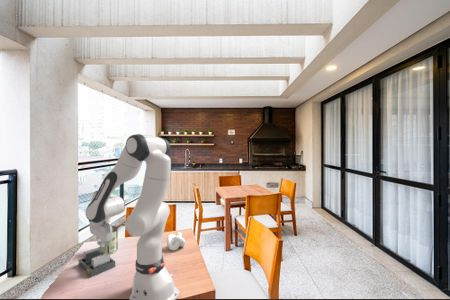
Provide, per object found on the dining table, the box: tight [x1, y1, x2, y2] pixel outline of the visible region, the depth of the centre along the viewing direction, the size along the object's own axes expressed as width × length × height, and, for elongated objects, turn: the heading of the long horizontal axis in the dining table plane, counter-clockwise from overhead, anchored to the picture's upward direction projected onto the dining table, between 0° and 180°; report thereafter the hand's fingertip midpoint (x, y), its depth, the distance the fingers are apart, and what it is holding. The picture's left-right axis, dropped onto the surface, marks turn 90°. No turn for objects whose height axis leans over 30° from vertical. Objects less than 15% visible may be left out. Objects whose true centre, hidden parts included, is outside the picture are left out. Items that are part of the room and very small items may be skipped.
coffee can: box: [99, 225, 119, 255], centre depth 132 cm, size 10×10×14 cm
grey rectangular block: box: [92, 253, 111, 270], centre depth 112 cm, size 3×8×6 cm, turn 142°
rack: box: [78, 246, 116, 278], centre depth 115 cm, size 18×12×7 cm
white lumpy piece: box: [166, 231, 186, 251], centre depth 138 cm, size 11×12×9 cm
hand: (101, 245), depth 112 cm, fingers open, 2 cm apart
